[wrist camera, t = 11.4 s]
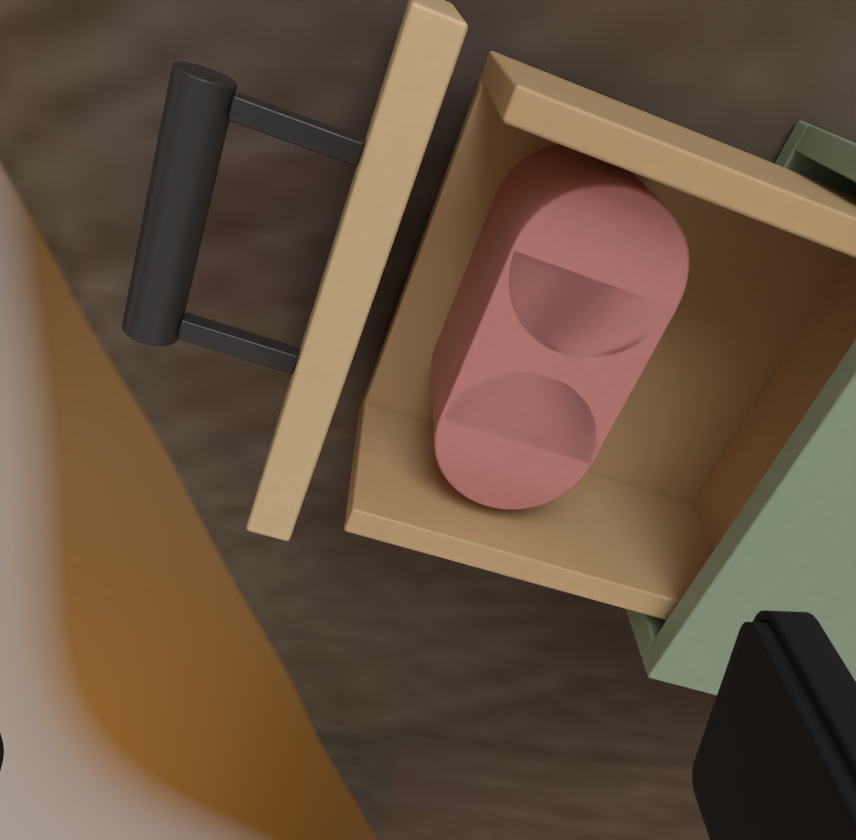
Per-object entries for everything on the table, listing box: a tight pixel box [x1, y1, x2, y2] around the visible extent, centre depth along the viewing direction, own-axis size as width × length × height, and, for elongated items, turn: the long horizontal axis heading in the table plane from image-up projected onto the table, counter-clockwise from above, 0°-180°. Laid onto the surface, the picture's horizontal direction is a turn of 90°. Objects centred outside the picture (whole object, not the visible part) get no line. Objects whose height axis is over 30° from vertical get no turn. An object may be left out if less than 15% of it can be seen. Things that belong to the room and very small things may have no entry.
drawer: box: [122, 0, 856, 620], centre depth 23 cm, size 20×13×7 cm, turn 70°
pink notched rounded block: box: [431, 144, 689, 510], centre depth 23 cm, size 10×4×5 cm, turn 160°
